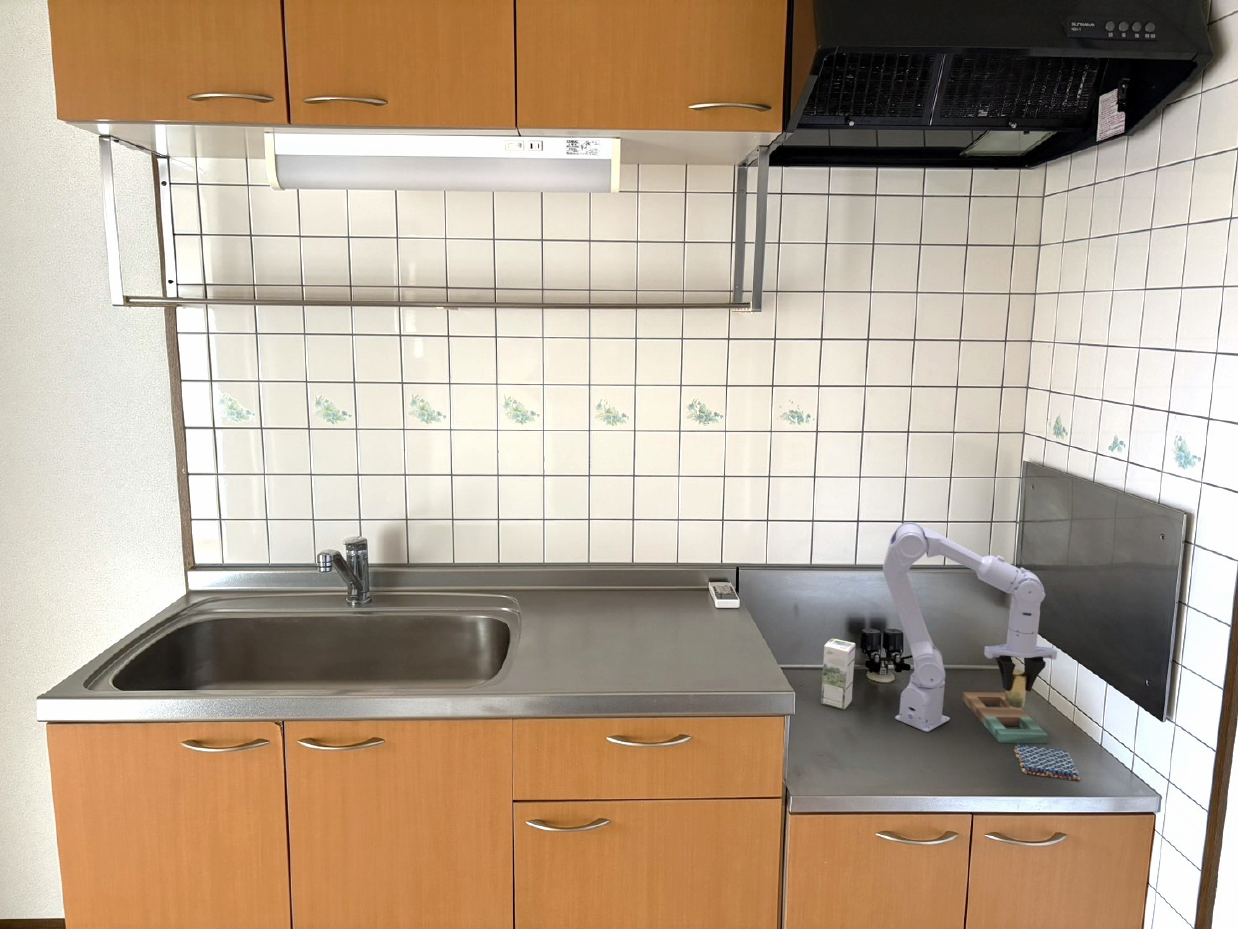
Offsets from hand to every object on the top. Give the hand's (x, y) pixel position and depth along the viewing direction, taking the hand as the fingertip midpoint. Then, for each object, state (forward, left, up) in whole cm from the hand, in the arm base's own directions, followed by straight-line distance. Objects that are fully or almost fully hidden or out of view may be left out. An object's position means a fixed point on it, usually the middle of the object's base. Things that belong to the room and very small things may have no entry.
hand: (1016, 689), depth 182 cm
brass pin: (0, 0, -3) cm, 4 cm away
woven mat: (-8, -11, -10) cm, 17 cm away
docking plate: (+3, +4, -10) cm, 11 cm away
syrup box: (-19, +32, -10) cm, 39 cm away
